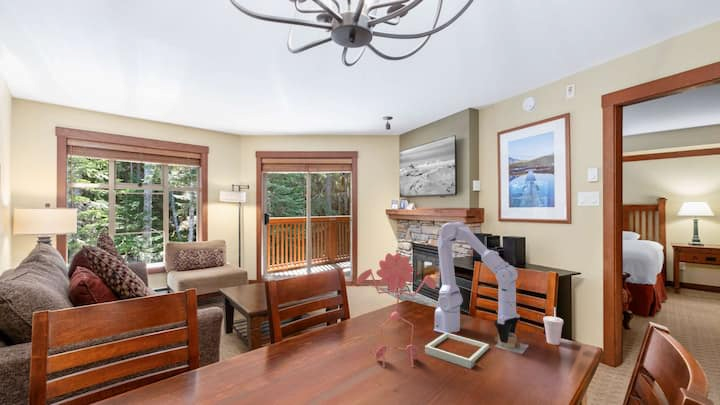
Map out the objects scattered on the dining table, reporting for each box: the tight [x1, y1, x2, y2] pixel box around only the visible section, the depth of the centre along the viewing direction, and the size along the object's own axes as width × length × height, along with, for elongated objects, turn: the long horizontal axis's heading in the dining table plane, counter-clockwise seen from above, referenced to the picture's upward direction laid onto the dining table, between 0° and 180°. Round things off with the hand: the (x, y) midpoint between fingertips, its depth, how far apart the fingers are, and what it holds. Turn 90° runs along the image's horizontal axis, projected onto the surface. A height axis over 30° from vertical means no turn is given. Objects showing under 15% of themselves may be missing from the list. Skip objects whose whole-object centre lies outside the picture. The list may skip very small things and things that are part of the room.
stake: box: [494, 333, 529, 355], centre depth 116 cm, size 9×9×5 cm
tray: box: [424, 333, 490, 369], centre depth 113 cm, size 16×16×2 cm
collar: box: [494, 332, 521, 348], centre depth 117 cm, size 8×6×4 cm
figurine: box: [356, 252, 437, 368], centre depth 110 cm, size 15×26×35 cm, turn 92°
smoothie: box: [542, 306, 564, 346], centre depth 119 cm, size 6×6×14 cm
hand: (507, 338), depth 117 cm, fingers open, 7 cm apart
